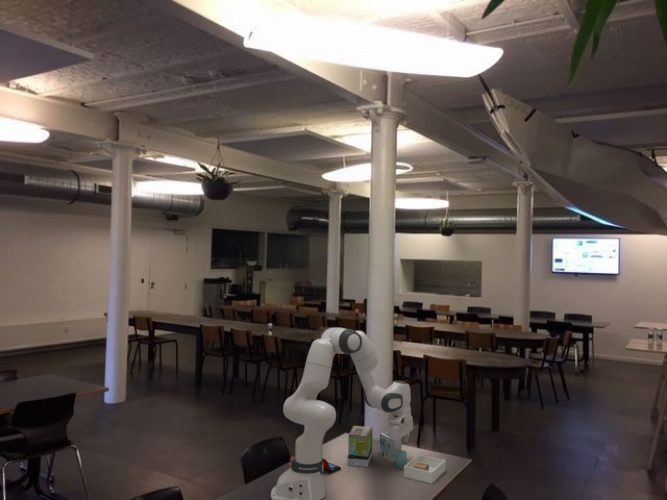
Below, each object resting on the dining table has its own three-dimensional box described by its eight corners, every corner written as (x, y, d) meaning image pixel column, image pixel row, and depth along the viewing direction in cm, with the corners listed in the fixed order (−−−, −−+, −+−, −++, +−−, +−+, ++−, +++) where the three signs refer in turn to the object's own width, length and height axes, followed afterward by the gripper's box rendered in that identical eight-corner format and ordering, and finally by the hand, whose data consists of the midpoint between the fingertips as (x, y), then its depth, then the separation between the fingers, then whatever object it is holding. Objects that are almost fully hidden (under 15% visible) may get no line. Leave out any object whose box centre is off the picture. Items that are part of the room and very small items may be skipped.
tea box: (368, 467, 242) (368, 435, 243) (347, 465, 244) (347, 434, 245) (372, 456, 257) (372, 426, 258) (352, 454, 259) (352, 424, 260)
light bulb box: (379, 454, 260) (379, 432, 260) (390, 452, 263) (390, 430, 263) (390, 461, 250) (390, 439, 250) (402, 459, 253) (402, 437, 253)
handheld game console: (342, 469, 240) (342, 453, 240) (325, 476, 232) (325, 459, 233) (323, 462, 249) (323, 447, 249) (306, 469, 241) (306, 452, 241)
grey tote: (431, 484, 224) (431, 472, 224) (403, 477, 231) (403, 466, 231) (445, 471, 239) (445, 460, 239) (418, 465, 246) (418, 454, 246)
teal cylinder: (396, 469, 241) (396, 453, 241) (395, 465, 246) (395, 450, 246) (407, 469, 241) (407, 454, 241) (406, 465, 246) (406, 450, 246)
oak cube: (424, 479, 228) (424, 467, 228) (414, 476, 231) (414, 465, 231) (429, 475, 232) (429, 464, 232) (418, 472, 235) (418, 461, 235)
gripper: (404, 409, 255) (404, 437, 254) (385, 420, 237) (386, 450, 237) (416, 411, 251) (416, 439, 251) (398, 422, 234) (398, 453, 234)
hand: (401, 445), depth 244 cm, fingers open, 8 cm apart
